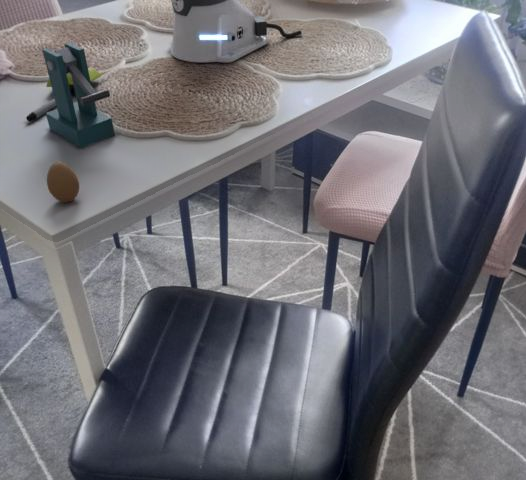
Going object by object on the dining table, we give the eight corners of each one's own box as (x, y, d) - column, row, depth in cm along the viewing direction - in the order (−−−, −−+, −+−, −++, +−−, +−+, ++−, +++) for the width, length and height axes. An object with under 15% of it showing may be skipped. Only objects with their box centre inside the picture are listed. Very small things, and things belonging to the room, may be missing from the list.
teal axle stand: (114, 134, 104) (99, 51, 95) (80, 148, 101) (60, 63, 91) (83, 117, 109) (65, 36, 100) (49, 129, 106) (27, 46, 96)
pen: (25, 120, 108) (25, 114, 107) (78, 87, 119) (78, 81, 118) (31, 124, 108) (31, 117, 107) (83, 90, 119) (84, 84, 118)
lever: (109, 101, 98) (110, 90, 96) (83, 110, 96) (84, 99, 94) (73, 56, 99) (74, 44, 97) (46, 64, 97) (47, 52, 94)
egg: (72, 210, 87) (62, 173, 83) (46, 205, 88) (35, 168, 84) (88, 195, 90) (79, 158, 86) (62, 190, 91) (52, 153, 87)
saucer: (58, 68, 121) (61, 79, 122) (42, 76, 114) (45, 87, 115) (99, 64, 120) (101, 75, 121) (85, 71, 113) (88, 83, 114)
